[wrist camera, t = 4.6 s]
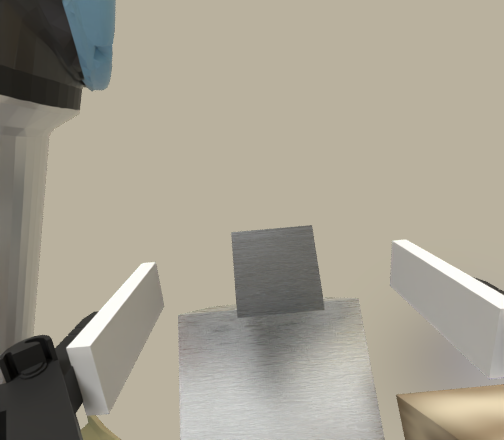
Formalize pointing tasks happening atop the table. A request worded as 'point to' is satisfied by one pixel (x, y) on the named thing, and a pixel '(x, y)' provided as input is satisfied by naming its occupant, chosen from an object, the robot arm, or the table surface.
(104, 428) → the milk carton
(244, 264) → the bar
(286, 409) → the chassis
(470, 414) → the birch block
